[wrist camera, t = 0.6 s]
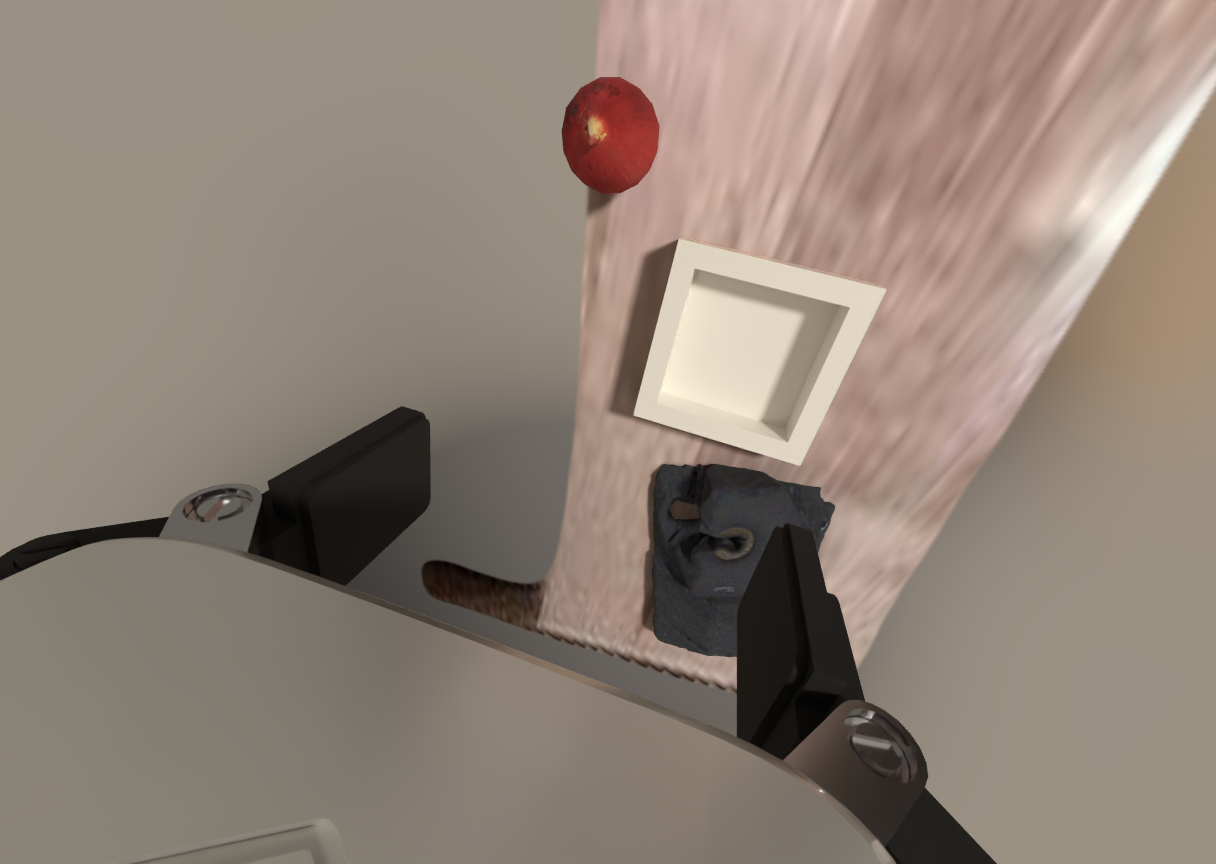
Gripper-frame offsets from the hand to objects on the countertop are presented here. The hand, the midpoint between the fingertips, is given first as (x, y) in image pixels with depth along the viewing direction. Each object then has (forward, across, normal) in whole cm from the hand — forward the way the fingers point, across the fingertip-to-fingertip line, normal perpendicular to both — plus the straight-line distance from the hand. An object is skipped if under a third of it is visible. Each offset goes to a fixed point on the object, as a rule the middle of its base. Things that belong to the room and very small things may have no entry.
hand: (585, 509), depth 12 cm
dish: (+26, -5, +1) cm, 26 cm away
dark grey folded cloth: (+26, -10, +22) cm, 35 cm away
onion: (+26, +7, -10) cm, 28 cm away
